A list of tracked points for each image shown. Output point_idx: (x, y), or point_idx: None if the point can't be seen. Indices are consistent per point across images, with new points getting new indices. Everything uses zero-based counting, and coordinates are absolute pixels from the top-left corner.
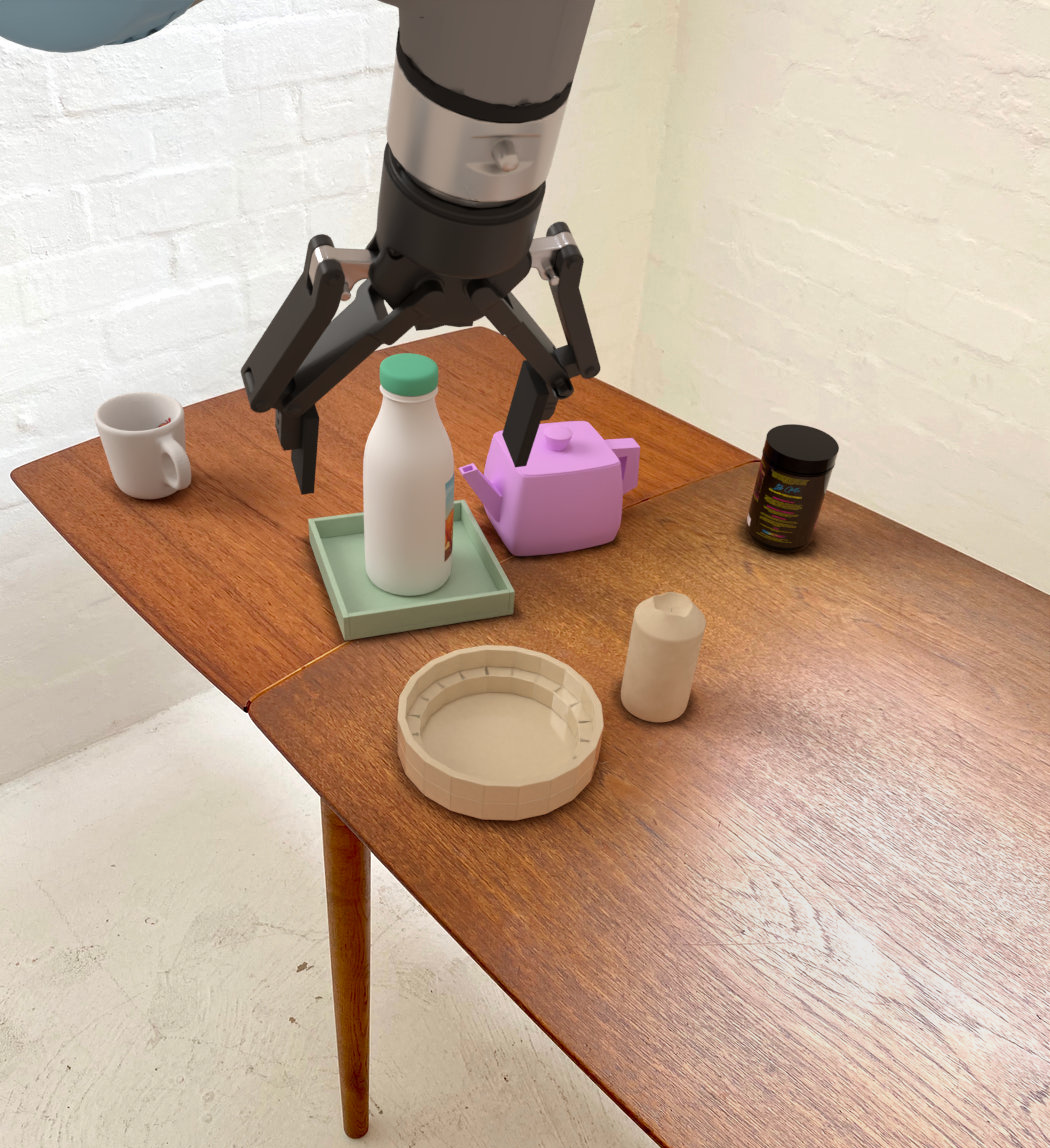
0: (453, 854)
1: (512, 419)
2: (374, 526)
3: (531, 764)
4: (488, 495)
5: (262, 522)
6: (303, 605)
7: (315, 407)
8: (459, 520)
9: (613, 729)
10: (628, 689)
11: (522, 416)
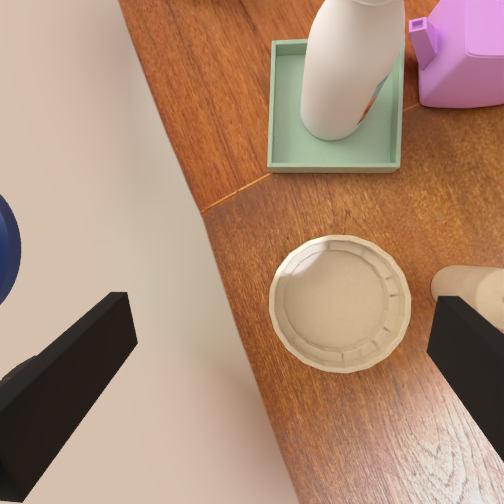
0: (279, 366)
1: (468, 346)
2: (306, 97)
3: (347, 320)
4: (424, 51)
5: (245, 23)
6: (251, 128)
7: (12, 482)
8: None
9: (413, 304)
10: (439, 292)
11: (489, 409)
